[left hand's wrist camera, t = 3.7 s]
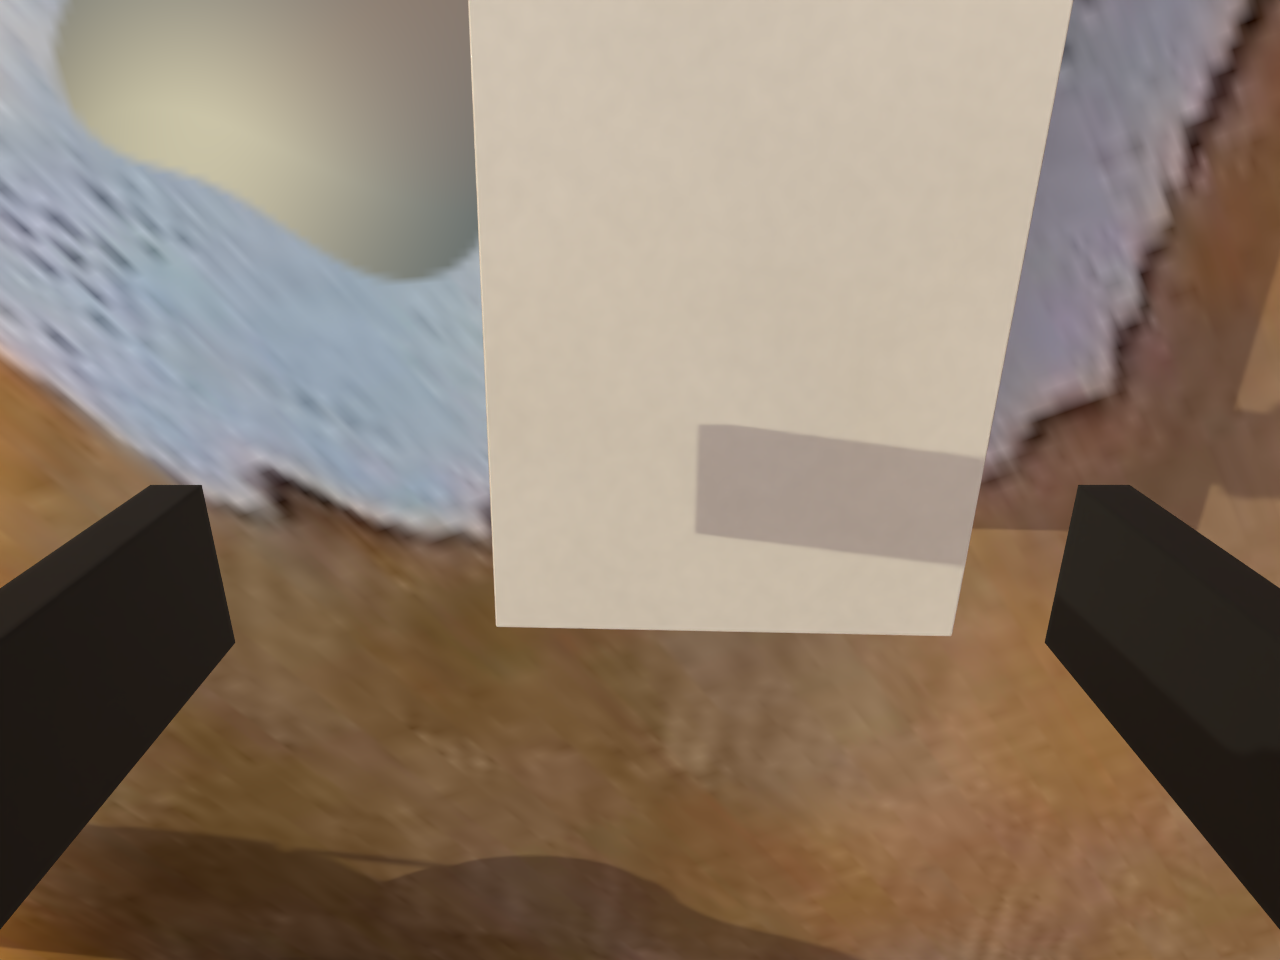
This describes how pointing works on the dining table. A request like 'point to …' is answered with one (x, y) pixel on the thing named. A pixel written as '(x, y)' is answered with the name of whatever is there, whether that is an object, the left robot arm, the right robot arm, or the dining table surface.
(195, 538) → the left robot arm
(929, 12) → the beige cardboard box
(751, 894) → the dining table surface
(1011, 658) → the dining table surface
